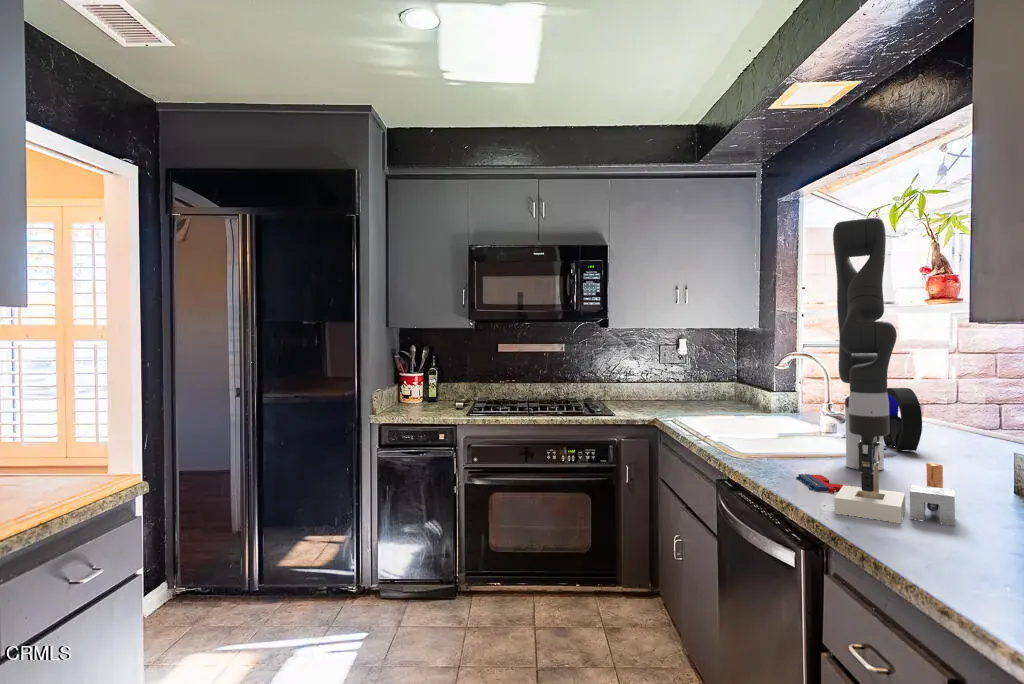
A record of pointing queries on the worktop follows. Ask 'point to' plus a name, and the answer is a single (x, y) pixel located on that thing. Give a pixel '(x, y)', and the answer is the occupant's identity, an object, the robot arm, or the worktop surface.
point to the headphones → (903, 419)
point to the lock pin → (934, 481)
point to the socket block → (870, 504)
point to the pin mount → (934, 496)
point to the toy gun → (819, 483)
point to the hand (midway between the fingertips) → (869, 486)
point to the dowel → (875, 492)
